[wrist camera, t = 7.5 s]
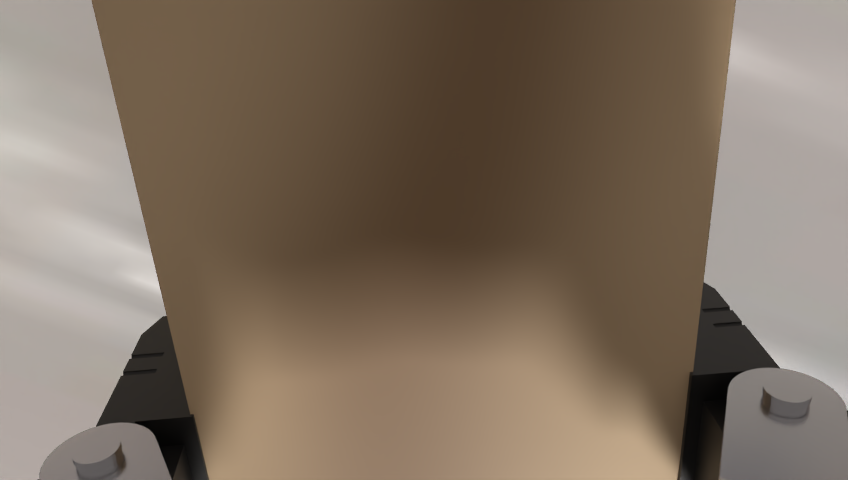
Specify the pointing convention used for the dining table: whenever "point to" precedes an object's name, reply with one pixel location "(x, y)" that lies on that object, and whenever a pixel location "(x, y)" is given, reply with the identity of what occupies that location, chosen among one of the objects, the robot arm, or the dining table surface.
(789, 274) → the dining table surface
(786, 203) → the dining table surface
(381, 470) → the long wooden trough
